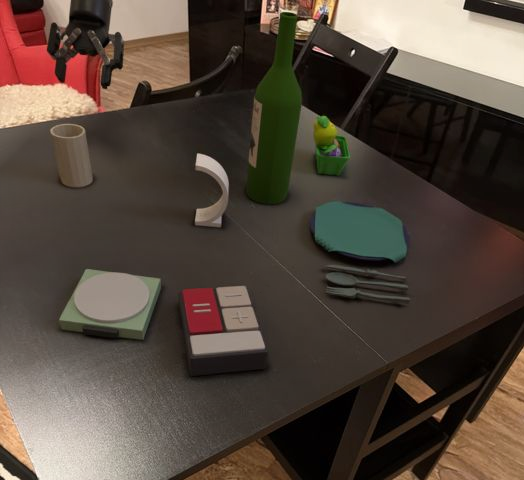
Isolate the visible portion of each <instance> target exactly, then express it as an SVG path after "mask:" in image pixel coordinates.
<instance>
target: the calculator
mask: <svg viewBox="0 0 524 480" xmlns="http://www.w3.org/2000/svg"><path fill="white" fill-rule="evenodd" d="M178 306H179V314H180V320H181V327H182V331H183V337H184V344H185V351H186V359H187V365H188V371H189V375H190V376H192V377H195V376H205V375H216V374H217V375H218V374H227V373H235V372H246V371H255V370H264V369H266V368H267V364H268V363H267V362H268V355H269V348H268V344H267V342H266V338H265V335H264V332H263V330H262V327H261V323H260V320H259V318H258V313H257V311H256V308H255V305H254V303H253V299H252V296H251V293H250V290H249V287H247V286H245V285H236V286H234V285H233V286H219V287H216V288H212V287H203V288H185V289H182V290H180V291H178Z"/></svg>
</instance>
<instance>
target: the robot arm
mask: <svg viewBox="0 0 524 480" xmlns="http://www.w3.org/2000/svg"><path fill="white" fill-rule="evenodd" d="M69 4H70V5H69V13H68V24H67V25H66V27H64V26H59V25H58V24H57V22H55V21H54V22H53V21H52V23H50V28H49V34H48V39H47V46H46V52H47V53H48V55H49V56H50V58H51V59H52V60H53V61H55V66H54V68H55V69H54V76H55V77H56V79H57V80H58V81H59V82H60V83H61V84H65V83H66V77H67V76H66V75H67V67H68V64H67V63H68V62H69V61H70V60H71V59H74V58H75V57H76V56H77V55H78V54H79V55H80V56H89V57H94V58H96V57H97V56H99V58H101V60H102V62H103V64H102V66H101V75H100V86H101V88H102V89H103V90H108V87H110V86H111V84H112V78H113V77H112V76H113V71H114V70H117V69H118V70H122V69H123V67H124V55H125V54H124V53H125V41H124V37H123V36H122V34H121V32H119V31H116V32H115V33H109V31H110V26H111V25H110V24H111V19H112V18H111V17H112V8H113V5H114V1H113V0H70V3H69ZM65 36H66V37H67V38H66V39H65V40H64V38H65ZM61 41H63V42H61ZM61 43H62V44H61ZM110 43H111V45H112V46H113V58H109V56H108V55H107V53H106V50H105V48H106V47H107V46H108V45H109V44H110ZM71 47H72V48H71Z"/></svg>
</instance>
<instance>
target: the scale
mask: <svg viewBox="0 0 524 480" xmlns="http://www.w3.org/2000/svg"><path fill="white" fill-rule="evenodd" d="M161 290H162V281H161V278H157V277H150V276H141V275H136V274H135V275H134V274H129V273H126V272H117V271H116V272H115V271H114V272H112V271H104V270H98V269H89V268H86V269H85V270H84V272H83V274H82V276H81V278H80V280H79V281H78V283H77V285H76V287H75V289H74V291H73V292H72V294H71V296H70V298H69V299H68V302H67V304H66V306H65V308H64V309H63V311H62V313H61V315H60V317H59V319H58V322H59V325H60V328H61V330H62V331H69V332H70V331H71V332H78V333H83V334H84V335H89V336H97V337H104V338H112V339H118V338H124V339H133V340H139V341H144V339H145V337H146V333H147V331H148V327H149V325H150V321H151V319H152V316H153V314H154V310H155V307H156V304H157V301H158V298H159V295H160V293H161Z"/></svg>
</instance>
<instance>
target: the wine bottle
mask: <svg viewBox="0 0 524 480" xmlns="http://www.w3.org/2000/svg"><path fill="white" fill-rule="evenodd" d="M298 18H299V16H298V14H296V13H295V12H291V11H281V12H279V20H278V27H277V28H278V29H277V37H276V42H275V43H276V44H275V52H274V60H273V63H272V66H271V67H270V68H269V70H268V71H267V72H266V74H265V75H264V76H263V78H262V79H261V81H260V82H259V84H258V85H257V86H256V90H255V92H254V97H253V106H252V117H251V118H252V119H251V129H250V140H249V141H250V142H249V150H248V151H249V152H248V165H247V175H246V186H245V187H246V188H245V191H246V195H247V197H248V198H250V199H251V200H252V201H254V202H256V203H259V204H264V205H276V204H277V205H278V204H280V203H283V202H284V201H285V200H286V198H287V197H288V193H289V187H290V181H291V180H290V179H291V174H292V169H293V162H294V161H293V160H294V155H295V149H296V143H297V137H298V136H297V135H298V130H299V124H300V117H301V111H302V105H303V96H302V90H301V87H300V84H299V82H298V79H297V77H296V75H295V72H294V69H293V55H294V47H295V40H296V39H295V38H296V31H297V23H298Z"/></svg>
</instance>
